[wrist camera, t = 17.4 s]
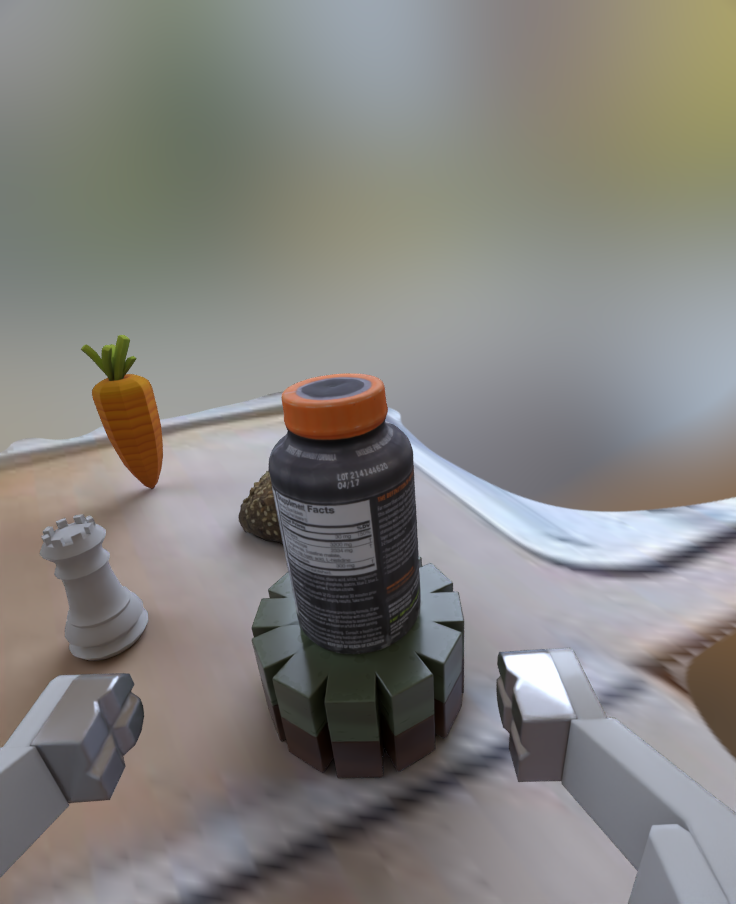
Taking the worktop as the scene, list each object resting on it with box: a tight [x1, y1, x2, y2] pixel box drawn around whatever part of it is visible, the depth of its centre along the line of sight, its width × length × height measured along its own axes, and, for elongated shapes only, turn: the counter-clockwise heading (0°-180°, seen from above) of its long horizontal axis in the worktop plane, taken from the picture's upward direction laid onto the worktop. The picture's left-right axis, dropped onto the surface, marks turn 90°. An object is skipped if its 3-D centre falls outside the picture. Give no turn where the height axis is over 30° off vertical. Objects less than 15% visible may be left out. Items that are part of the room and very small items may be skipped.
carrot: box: [81, 335, 163, 489], centre depth 44 cm, size 5×5×15 cm
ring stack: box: [252, 557, 464, 778], centre depth 24 cm, size 10×10×5 cm
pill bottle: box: [269, 374, 421, 654], centre depth 20 cm, size 6×6×11 cm
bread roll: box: [239, 471, 283, 543], centre depth 40 cm, size 13×12×5 cm
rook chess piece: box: [40, 514, 148, 661], centre depth 27 cm, size 4×4×8 cm
